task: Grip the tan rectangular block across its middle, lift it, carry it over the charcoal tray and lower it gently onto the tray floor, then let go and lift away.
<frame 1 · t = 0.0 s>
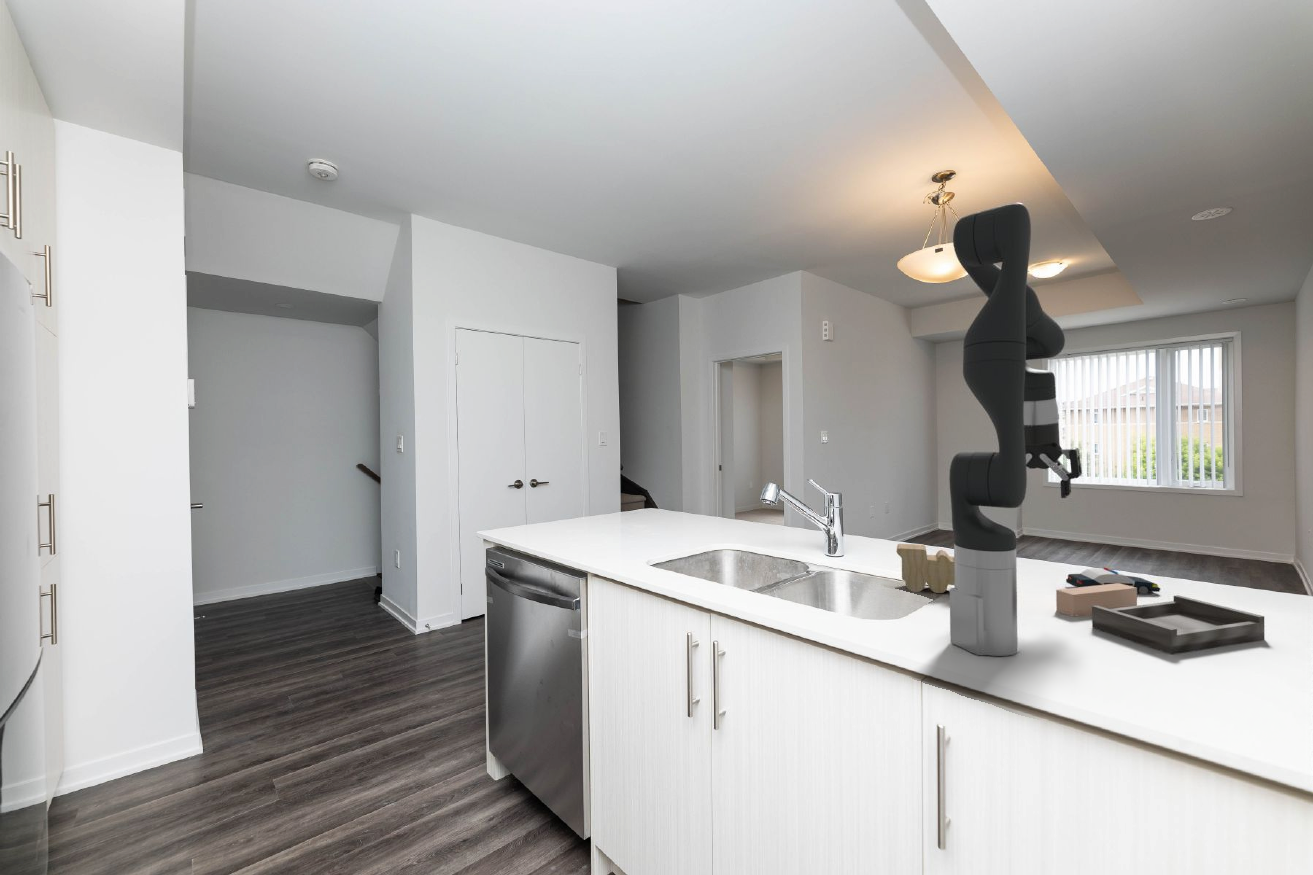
hand: (1040, 495, 121), 22 cm above the worktop, tool pointing down, fingers open, 8 cm apart
toy train: (937, 591, 130), on the worktop
toy car: (1111, 592, 127), on the worktop
tan rectangular block: (1096, 610, 115), on the worktop
charcoal tray: (1175, 633, 101), on the worktop
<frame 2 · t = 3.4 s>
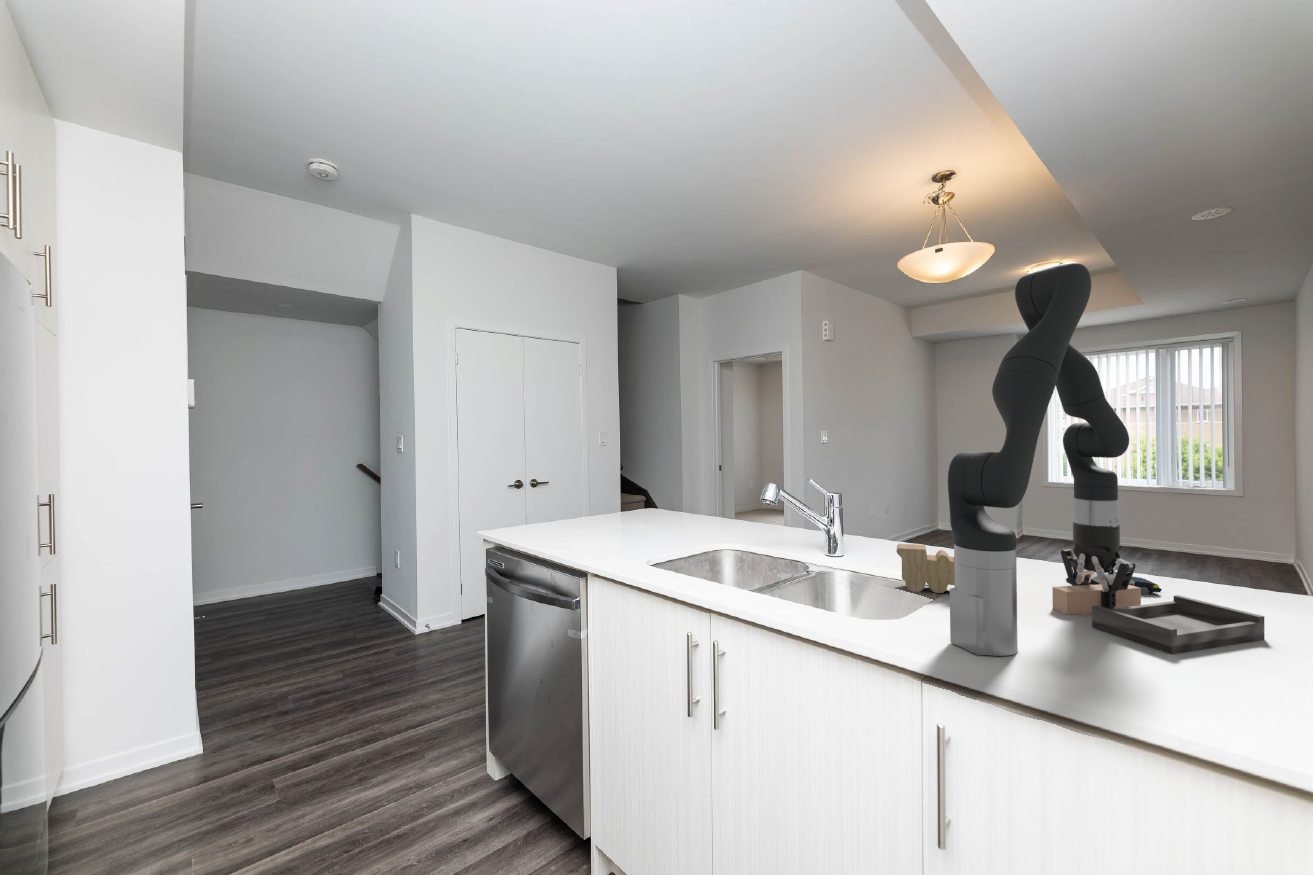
hand: (1096, 605, 115), 1 cm above the worktop, tool pointing down, fingers closed on tan rectangular block, 4 cm apart
tan rectangular block: (1096, 609, 115), on the worktop, touching gripper
everything else where it was.
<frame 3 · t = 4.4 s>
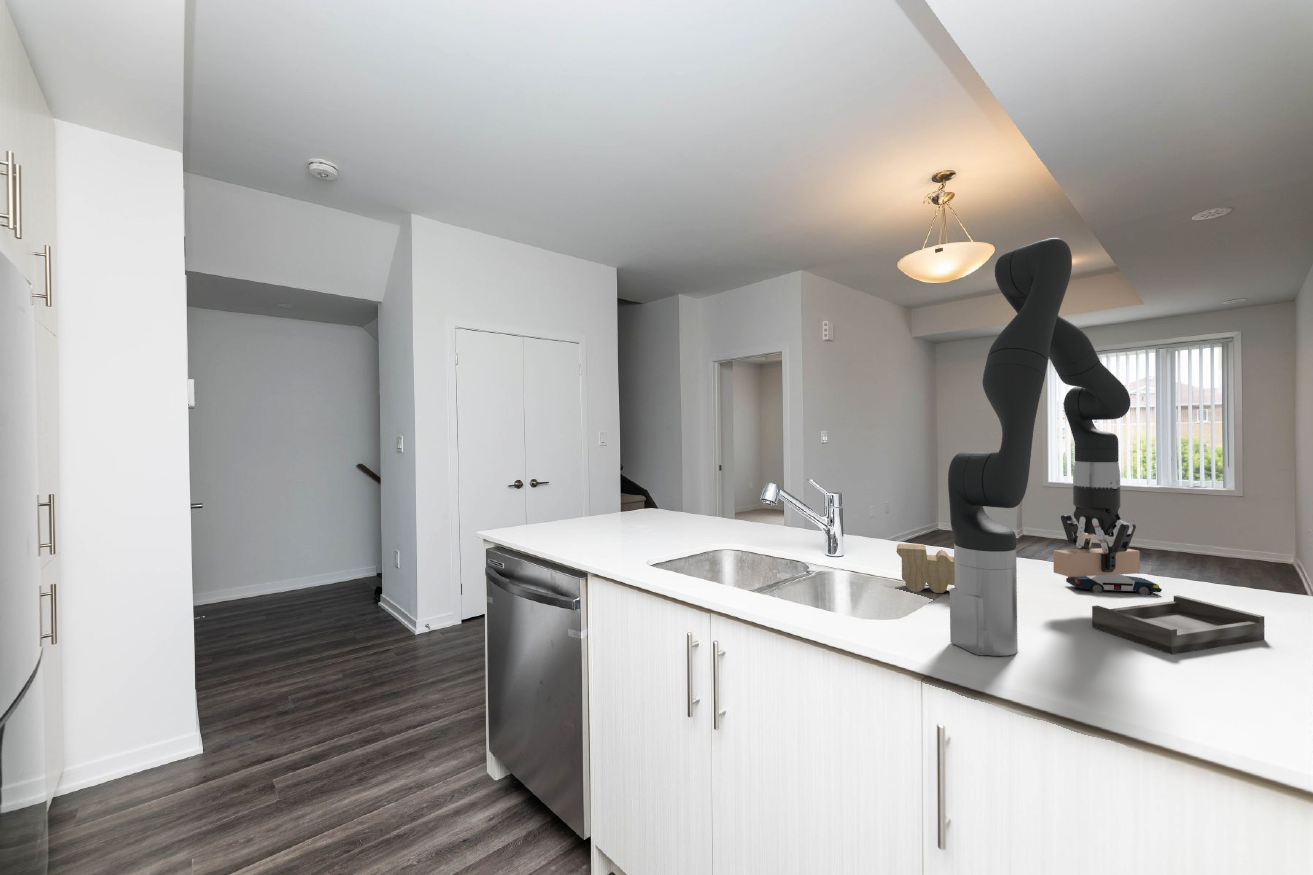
hand: (1096, 568, 114), 8 cm above the worktop, tool pointing down, fingers closed on tan rectangular block, 4 cm apart
tan rectangular block: (1096, 572, 114), point 7 cm above the worktop, touching gripper
everything else where it was.
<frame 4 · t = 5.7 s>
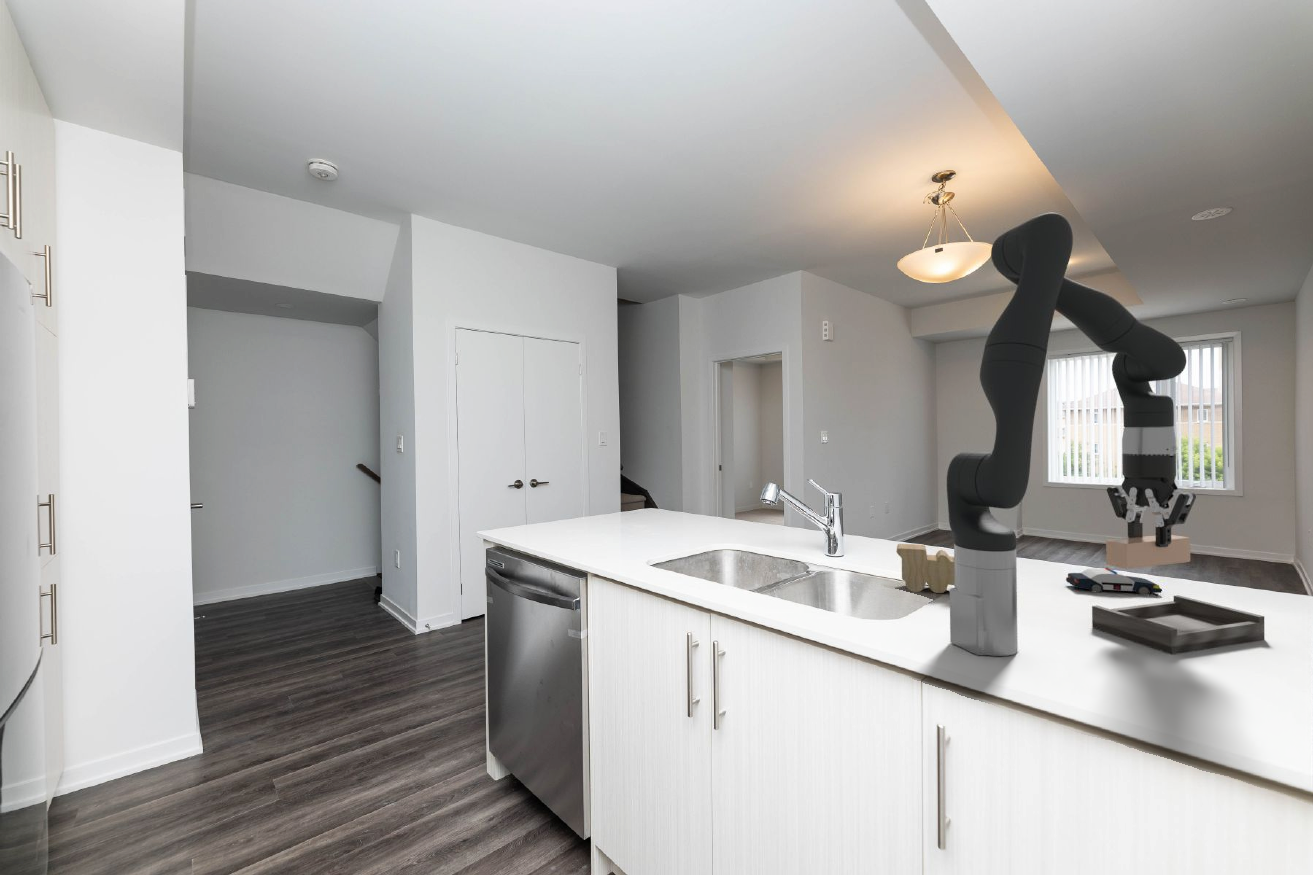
hand: (1149, 544, 105), 15 cm above the worktop, tool pointing down, fingers closed on tan rectangular block, 3 cm apart
tan rectangular block: (1148, 563, 105), point 12 cm above the worktop, touching gripper
everything else where it was.
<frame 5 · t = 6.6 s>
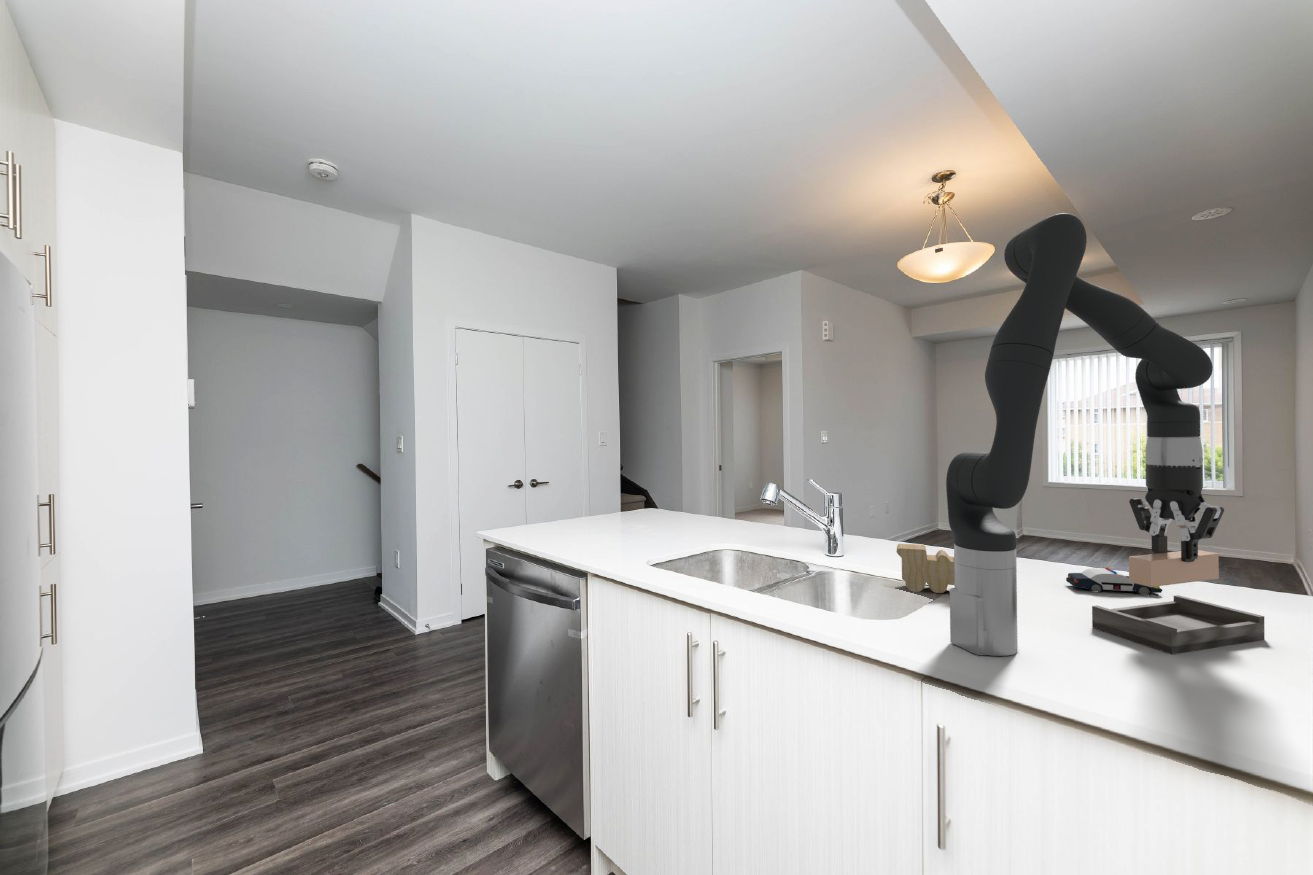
hand: (1174, 558, 101), 13 cm above the worktop, tool pointing down, fingers closed on tan rectangular block, 3 cm apart
tan rectangular block: (1174, 580, 101), point 9 cm above the worktop, touching gripper
everything else where it was.
when the fingers open (5 cm above the worktop, at t = 7.8 s): tan rectangular block stays where it is, resting on charcoal tray.
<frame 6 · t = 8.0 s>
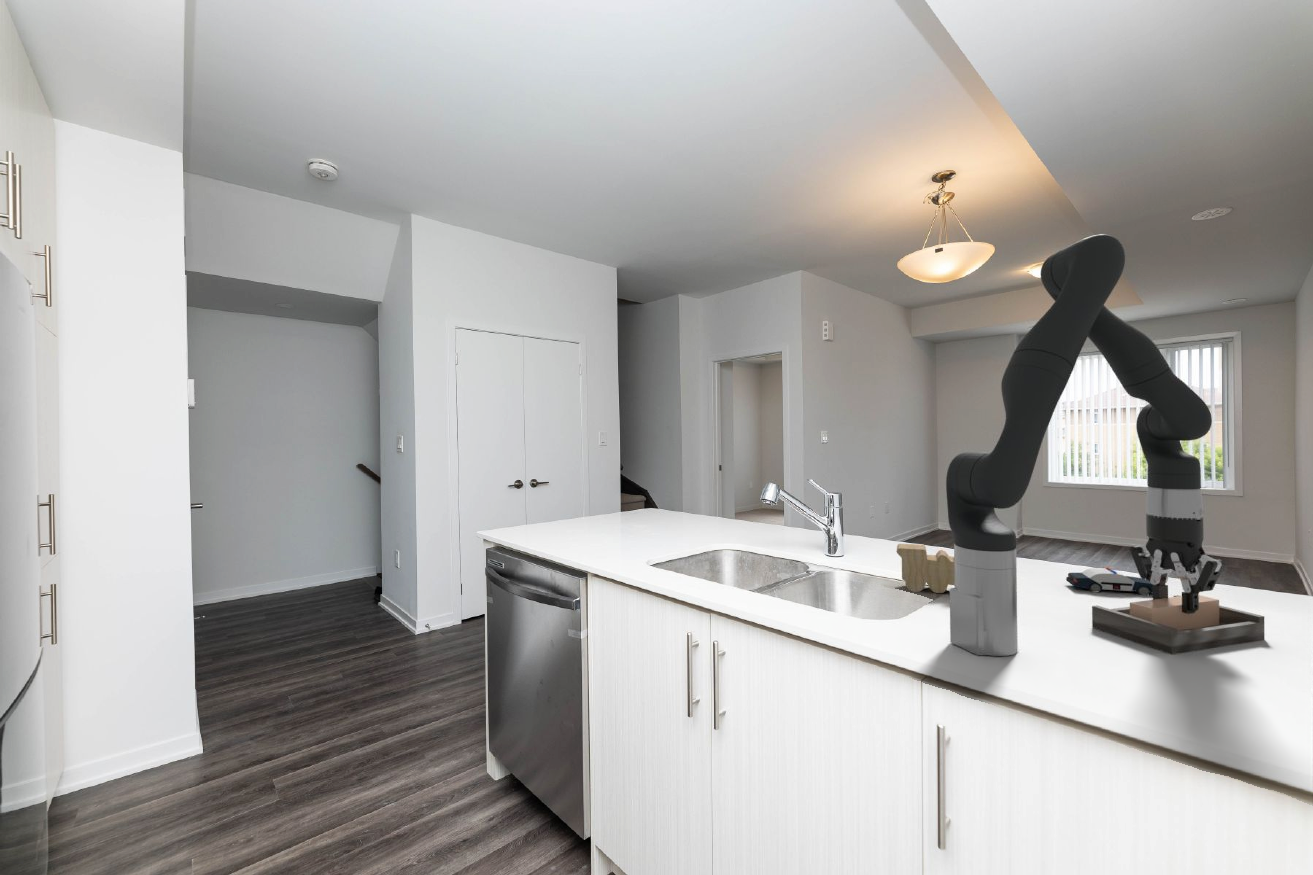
hand: (1175, 608, 101), 4 cm above the worktop, tool pointing down, fingers open, 3 cm apart
tan rectangular block: (1174, 626, 101), point 1 cm above the worktop, touching charcoal tray, gripper
everything else where it was.
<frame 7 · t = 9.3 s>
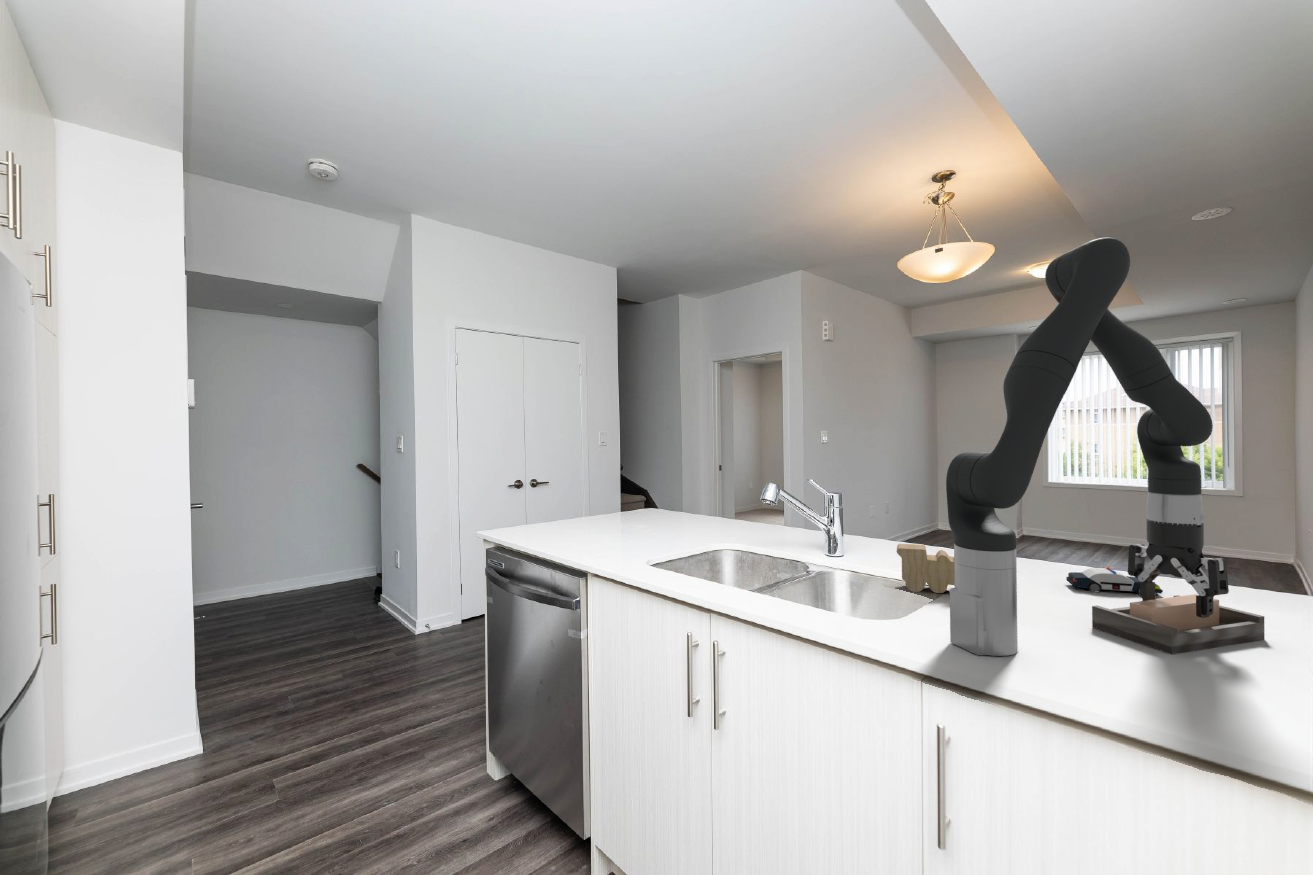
hand: (1175, 609, 101), 4 cm above the worktop, tool pointing down, fingers open, 8 cm apart
tan rectangular block: (1174, 626, 101), point 1 cm above the worktop, touching charcoal tray
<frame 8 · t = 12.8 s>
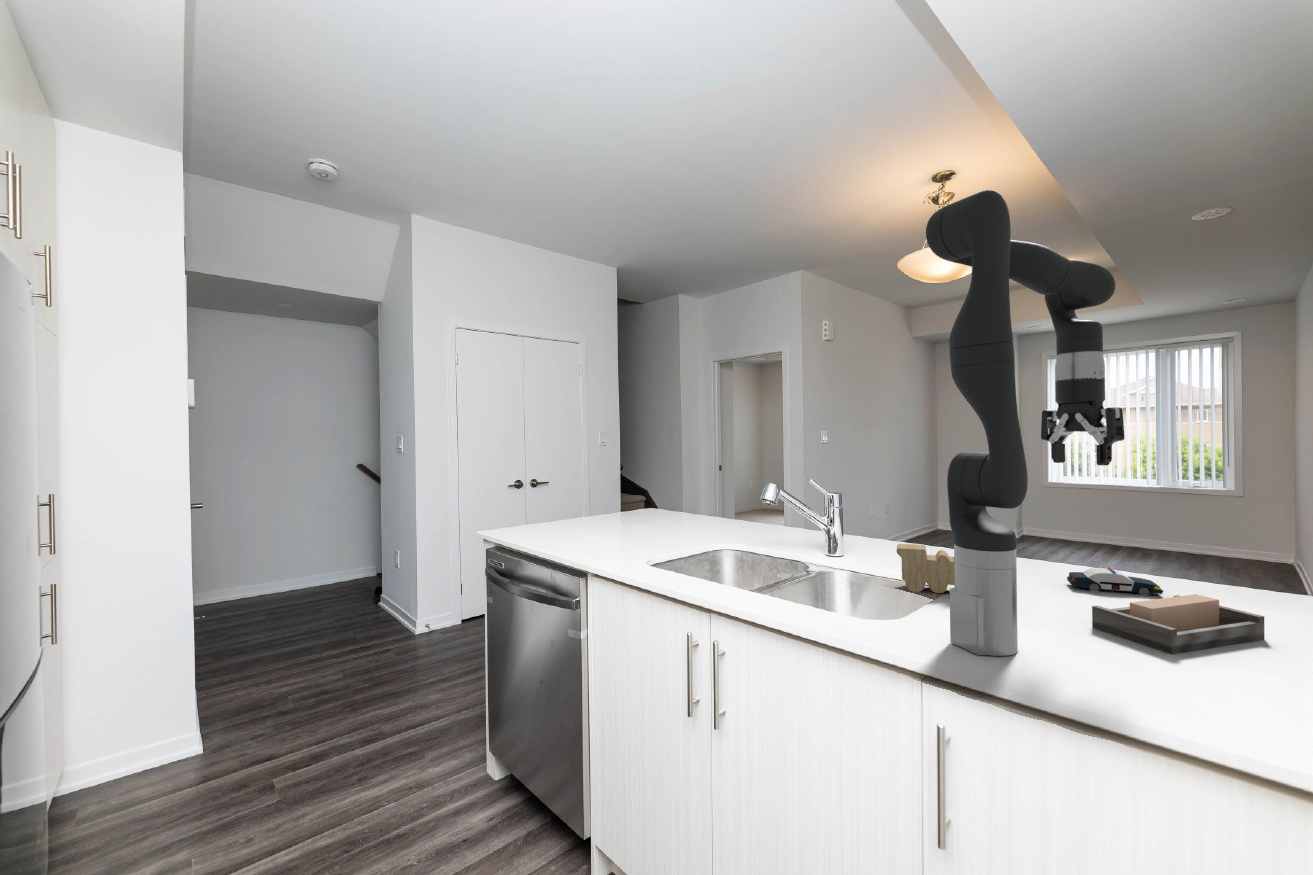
hand: (1080, 463, 107), 30 cm above the worktop, tool pointing down, fingers open, 8 cm apart
at the end: tan rectangular block 0.1 cm off-centre on the charcoal tray, point 1.2 cm above the charcoal tray's base; tan rectangular block tilted 0°; the gripper is holding nothing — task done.
